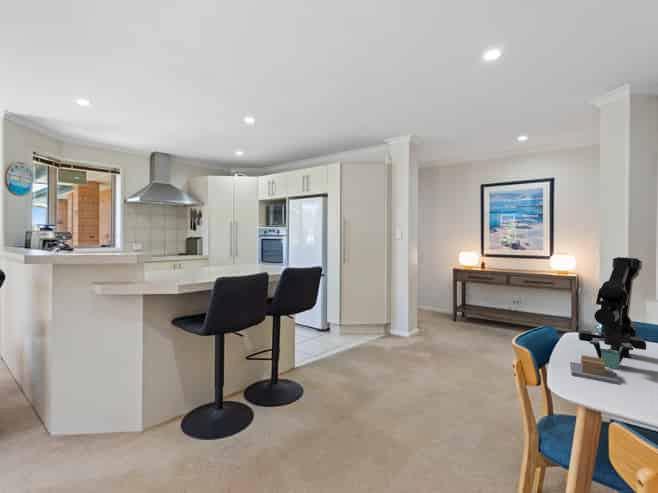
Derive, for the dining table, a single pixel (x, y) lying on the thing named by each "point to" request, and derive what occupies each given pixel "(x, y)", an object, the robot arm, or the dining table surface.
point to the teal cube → (610, 358)
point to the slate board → (578, 372)
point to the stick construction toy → (598, 330)
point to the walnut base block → (592, 365)
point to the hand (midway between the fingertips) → (609, 362)
